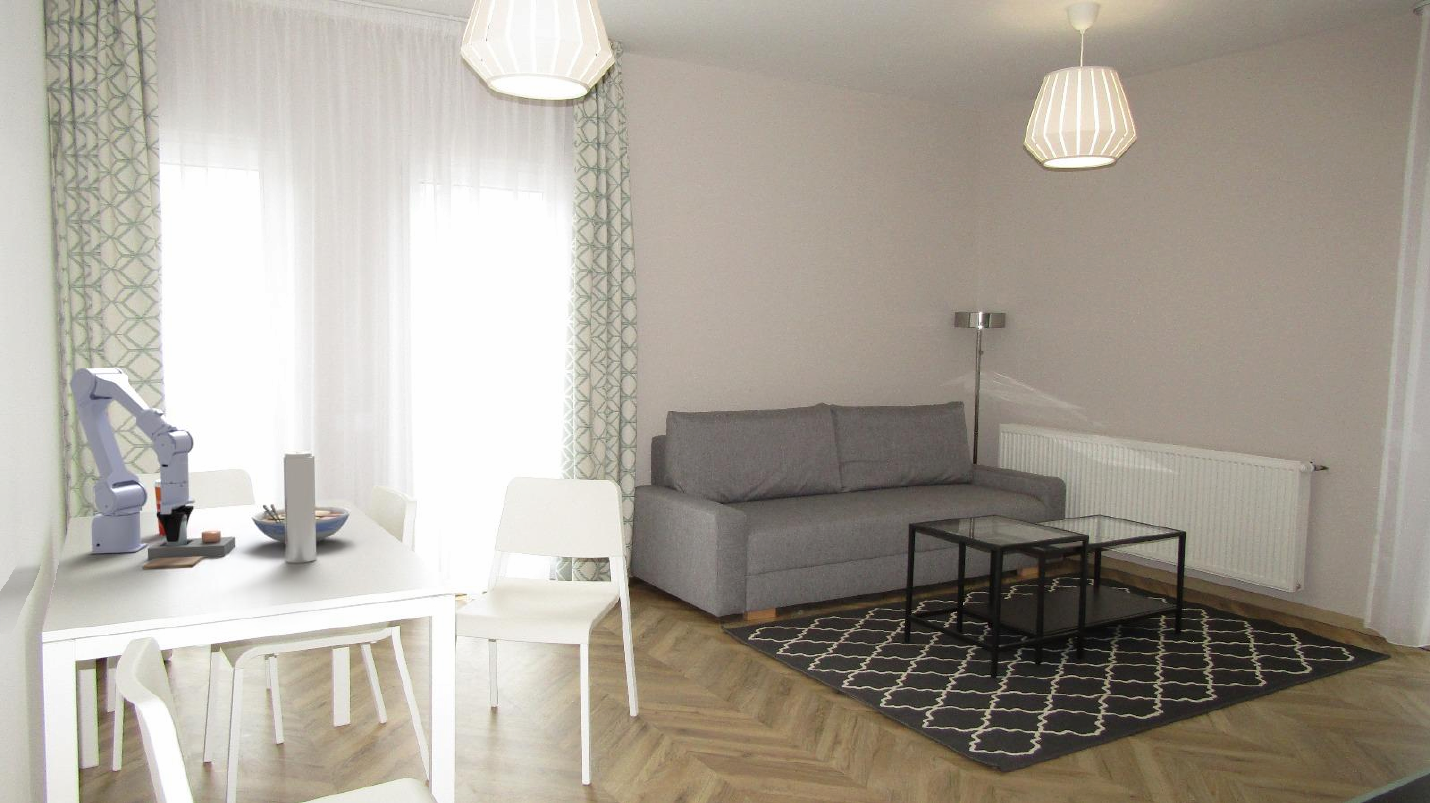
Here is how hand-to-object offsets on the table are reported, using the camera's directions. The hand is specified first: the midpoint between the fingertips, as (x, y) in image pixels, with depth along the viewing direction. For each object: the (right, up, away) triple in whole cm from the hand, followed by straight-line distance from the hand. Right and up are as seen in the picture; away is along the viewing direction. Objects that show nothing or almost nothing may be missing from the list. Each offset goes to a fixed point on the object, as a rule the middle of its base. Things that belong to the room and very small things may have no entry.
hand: (176, 539), depth 219 cm
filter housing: (+3, -3, +1) cm, 5 cm away
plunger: (+7, -1, +2) cm, 8 cm away
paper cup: (-15, -2, +23) cm, 28 cm away
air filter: (+32, -4, -5) cm, 32 cm away
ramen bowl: (+24, -3, +14) cm, 28 cm away
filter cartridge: (0, -3, 0) cm, 3 cm away
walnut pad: (+5, -4, -10) cm, 12 cm away
